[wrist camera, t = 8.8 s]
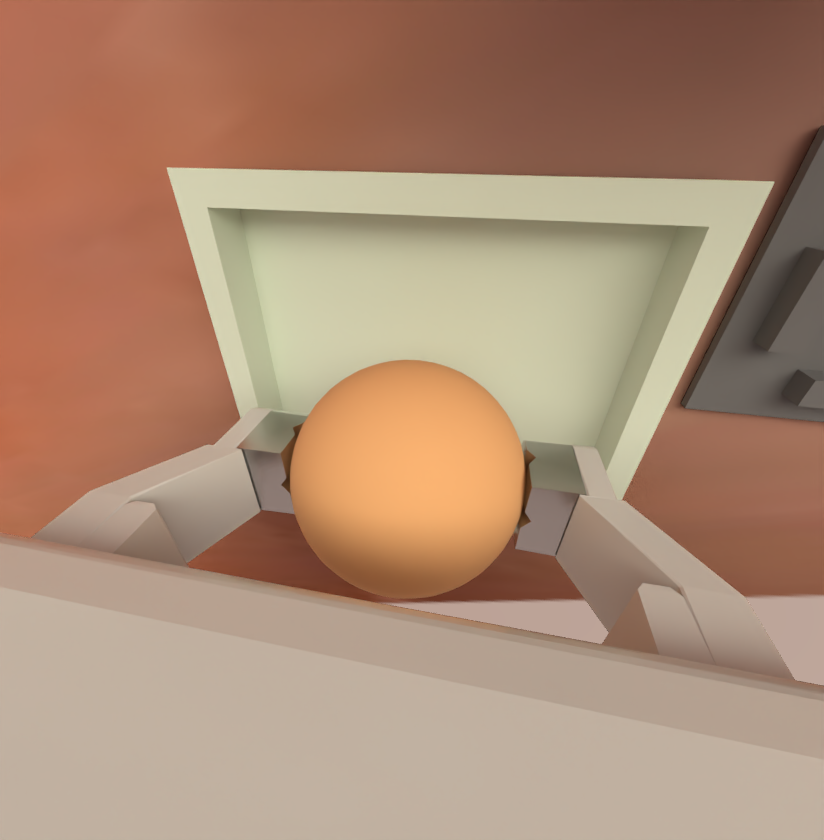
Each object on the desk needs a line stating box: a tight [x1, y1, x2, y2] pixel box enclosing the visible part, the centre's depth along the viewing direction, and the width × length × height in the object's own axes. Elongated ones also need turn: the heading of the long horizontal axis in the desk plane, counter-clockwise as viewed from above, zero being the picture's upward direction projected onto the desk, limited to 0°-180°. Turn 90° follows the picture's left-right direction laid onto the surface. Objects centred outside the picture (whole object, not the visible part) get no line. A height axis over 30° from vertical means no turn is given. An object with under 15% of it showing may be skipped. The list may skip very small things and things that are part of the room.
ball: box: [290, 360, 526, 599], centre depth 8 cm, size 5×5×5 cm
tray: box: [167, 168, 775, 500], centre depth 12 cm, size 13×11×2 cm
